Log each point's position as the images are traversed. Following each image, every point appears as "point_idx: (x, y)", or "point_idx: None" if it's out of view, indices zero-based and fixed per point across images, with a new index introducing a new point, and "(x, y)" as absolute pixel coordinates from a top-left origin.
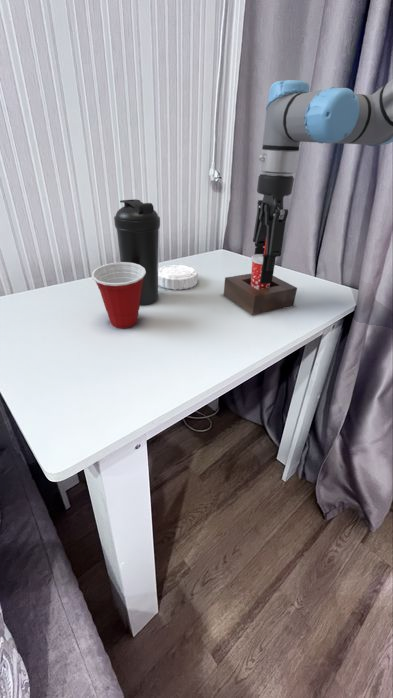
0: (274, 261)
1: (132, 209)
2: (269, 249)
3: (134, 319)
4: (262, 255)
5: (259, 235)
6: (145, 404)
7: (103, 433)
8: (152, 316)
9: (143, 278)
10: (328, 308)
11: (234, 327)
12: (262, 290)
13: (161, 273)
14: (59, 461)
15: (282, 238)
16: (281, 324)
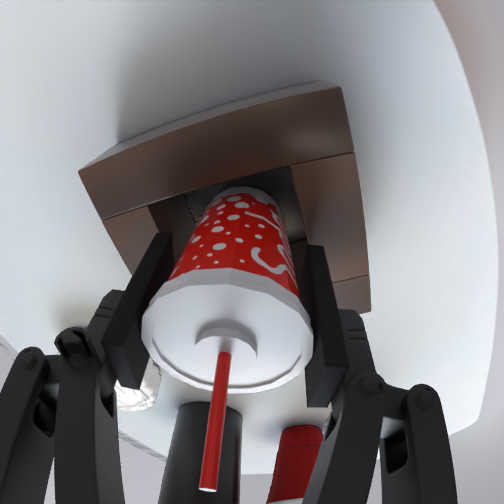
0: (371, 356)
1: None
2: (383, 453)
3: (319, 435)
4: (196, 355)
5: (119, 463)
6: (467, 402)
7: (471, 414)
8: (291, 413)
9: (240, 465)
10: None
11: (394, 318)
12: (333, 272)
13: (131, 409)
14: (472, 423)
15: (453, 497)
16: (433, 203)
